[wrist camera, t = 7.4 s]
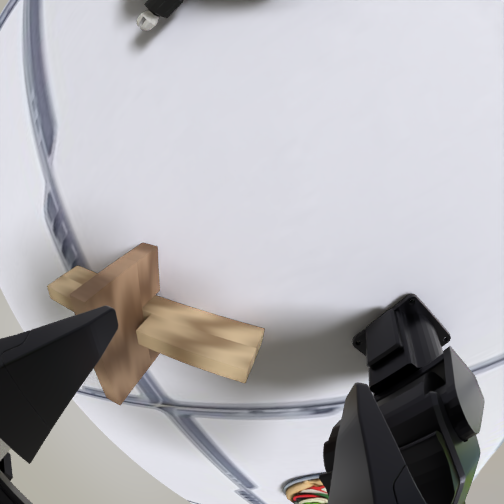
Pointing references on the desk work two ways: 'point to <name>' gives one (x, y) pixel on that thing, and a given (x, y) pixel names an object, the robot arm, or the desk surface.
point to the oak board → (183, 331)
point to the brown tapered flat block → (122, 317)
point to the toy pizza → (307, 491)
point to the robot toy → (156, 12)
